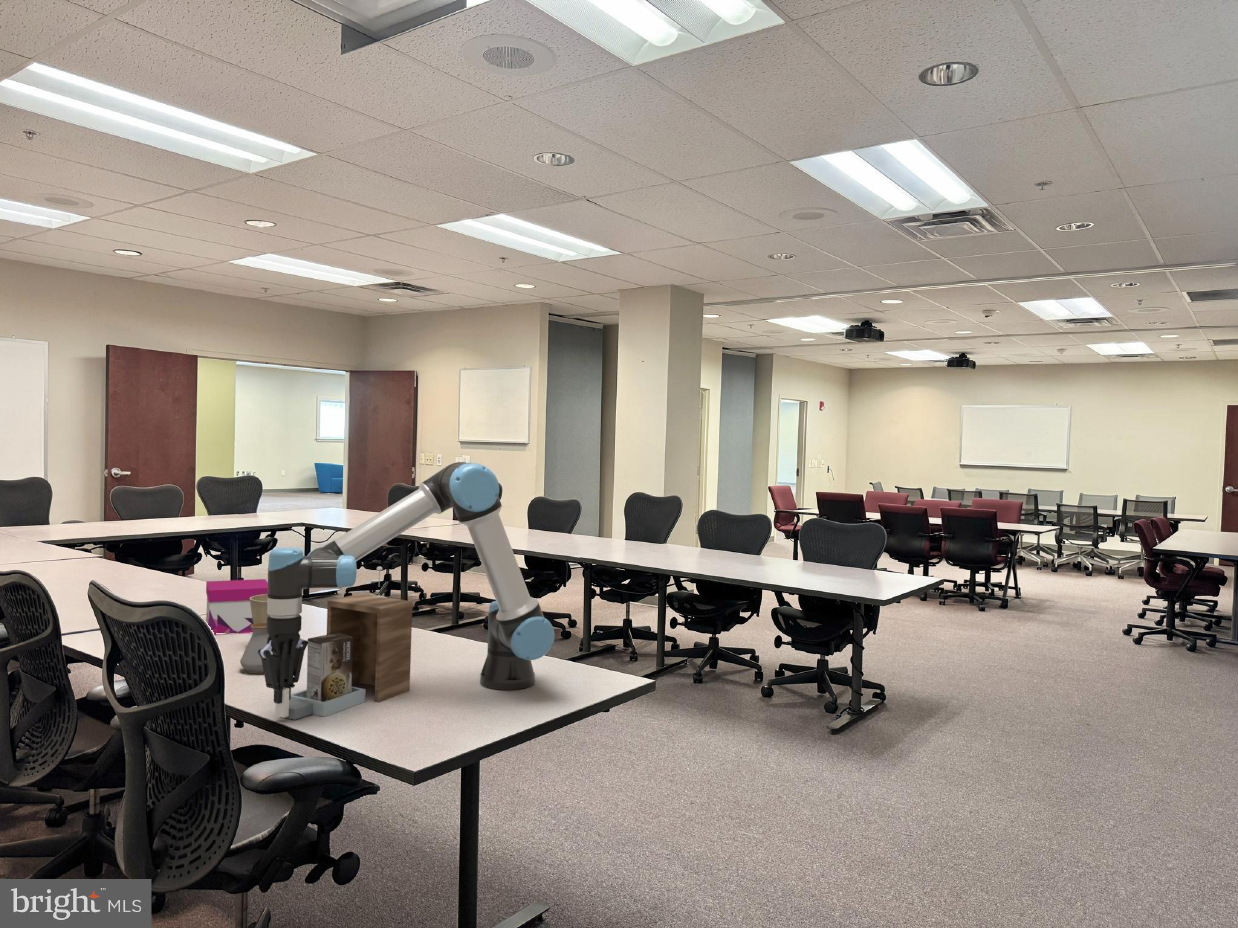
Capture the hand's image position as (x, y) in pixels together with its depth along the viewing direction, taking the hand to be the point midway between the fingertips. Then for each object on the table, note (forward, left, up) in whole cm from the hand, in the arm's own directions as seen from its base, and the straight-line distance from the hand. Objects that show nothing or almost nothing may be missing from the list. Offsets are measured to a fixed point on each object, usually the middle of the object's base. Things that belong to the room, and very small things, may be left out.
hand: (281, 715), depth 198 cm
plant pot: (+56, -49, -2) cm, 74 cm away
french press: (+36, -72, -2) cm, 80 cm away
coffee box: (0, -15, -1) cm, 15 cm away
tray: (0, -11, -1) cm, 12 cm away
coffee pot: (+34, -28, -2) cm, 44 cm away
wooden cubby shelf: (0, -29, -1) cm, 29 cm away
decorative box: (+88, -62, -2) cm, 108 cm away
